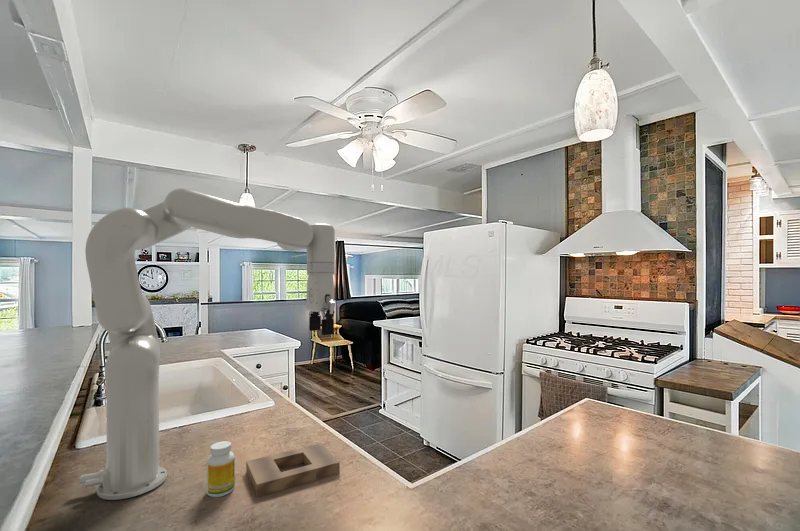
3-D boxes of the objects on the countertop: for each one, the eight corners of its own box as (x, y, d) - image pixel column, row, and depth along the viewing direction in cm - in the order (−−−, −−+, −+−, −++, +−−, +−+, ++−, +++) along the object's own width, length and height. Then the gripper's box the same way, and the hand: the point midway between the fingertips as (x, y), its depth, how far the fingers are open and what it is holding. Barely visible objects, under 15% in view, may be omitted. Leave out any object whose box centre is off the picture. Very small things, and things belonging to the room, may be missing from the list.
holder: (256, 497, 80) (256, 484, 81) (246, 472, 91) (246, 461, 91) (339, 473, 90) (339, 462, 90) (321, 453, 100) (321, 443, 100)
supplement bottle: (203, 490, 83) (203, 444, 84) (230, 481, 87) (230, 437, 87) (210, 501, 79) (210, 452, 79) (238, 491, 83) (238, 445, 83)
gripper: (297, 270, 113) (298, 330, 113) (318, 268, 98) (318, 337, 98) (322, 270, 117) (323, 328, 117) (346, 268, 102) (346, 335, 102)
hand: (321, 332), depth 107 cm, fingers open, 9 cm apart
